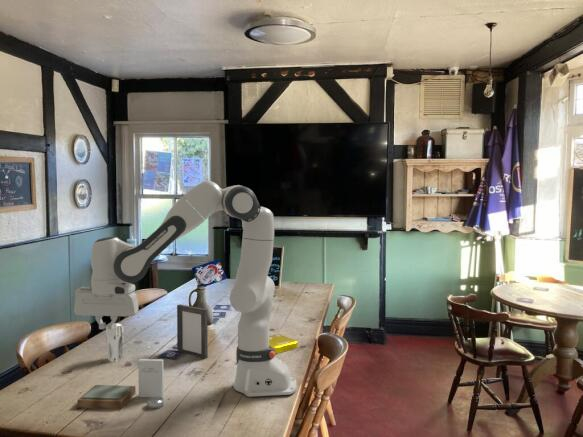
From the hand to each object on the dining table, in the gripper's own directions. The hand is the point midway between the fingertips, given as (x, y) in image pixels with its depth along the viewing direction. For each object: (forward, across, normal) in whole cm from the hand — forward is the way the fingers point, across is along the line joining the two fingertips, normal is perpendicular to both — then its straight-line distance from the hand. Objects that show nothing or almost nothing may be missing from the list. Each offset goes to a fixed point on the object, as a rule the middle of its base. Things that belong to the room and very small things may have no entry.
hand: (106, 328), depth 157 cm
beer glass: (+24, -13, +36) cm, 45 cm away
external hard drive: (+24, +13, +4) cm, 28 cm away
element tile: (+24, +50, +57) cm, 80 cm away
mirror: (+24, 0, 0) cm, 24 cm away
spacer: (+24, +17, -3) cm, 30 cm away
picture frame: (+24, +17, +44) cm, 53 cm away
